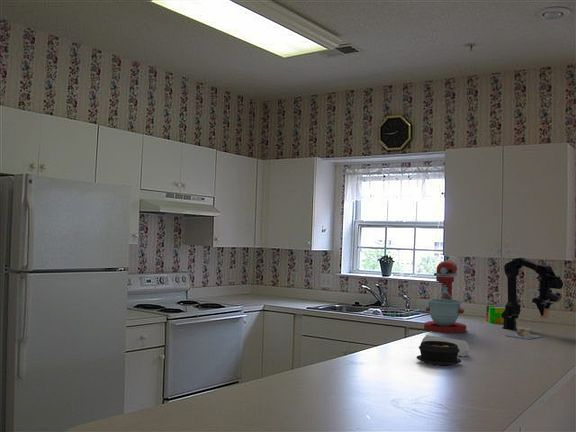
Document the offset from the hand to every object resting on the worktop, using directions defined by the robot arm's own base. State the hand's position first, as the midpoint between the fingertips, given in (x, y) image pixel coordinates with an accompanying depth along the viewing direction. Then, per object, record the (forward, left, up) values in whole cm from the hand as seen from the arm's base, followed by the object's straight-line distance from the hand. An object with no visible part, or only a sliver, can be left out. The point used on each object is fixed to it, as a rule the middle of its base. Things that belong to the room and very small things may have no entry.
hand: (544, 315), depth 350 cm
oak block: (-5, -14, -11) cm, 19 cm away
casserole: (+11, -120, -12) cm, 121 cm away
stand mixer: (-44, -32, -12) cm, 56 cm away
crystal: (-1, -97, -12) cm, 97 cm away
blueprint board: (-5, -14, -12) cm, 19 cm away
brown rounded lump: (0, 0, -1) cm, 1 cm away
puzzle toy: (-45, +28, -12) cm, 54 cm away
